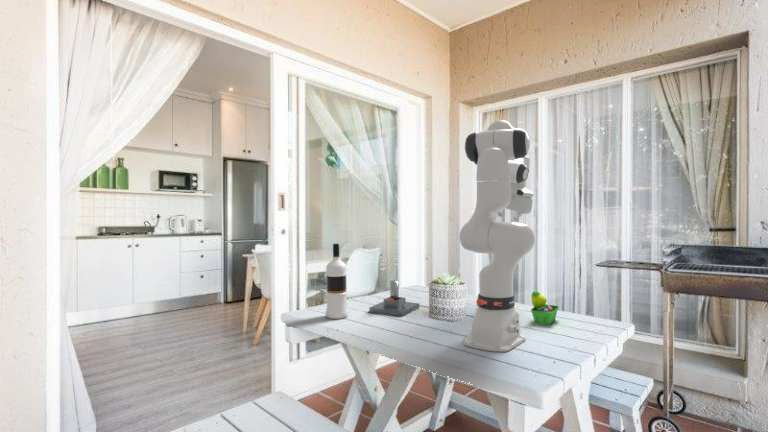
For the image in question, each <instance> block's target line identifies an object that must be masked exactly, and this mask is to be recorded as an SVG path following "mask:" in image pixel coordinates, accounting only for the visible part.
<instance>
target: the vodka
mask: <svg viewBox="0 0 768 432" xmlns="http://www.w3.org/2000/svg"><path fill="white" fill-rule="evenodd" d="M347 267H348V266H347V264H346V263H345V262H343V261H342V260H341V259H340V244H339V243H333V244H332V260H331V261H329V262H328V263H327V264H326V268H325V270H326V273H325V274H326V310H325V316H326V317H327V318H328V319H329V320H342V319H345V318H347V317H349V312H350V311H349V308H348V295H347V294H348V291H347V275H348V274H347V269H348V268H347Z"/></svg>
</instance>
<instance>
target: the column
mask: <svg viewBox="0 0 768 432" xmlns="http://www.w3.org/2000/svg"><path fill="white" fill-rule="evenodd" d="M389 282H390V283H389V286H390V289H389V291H390V292H389V293H390V295H389V297H390V298H394V300H399V297H400V295H399V294H400V292H399V289H400V287H399V280H396V279H393V280H390V281H389Z"/></svg>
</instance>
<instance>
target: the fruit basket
mask: <svg viewBox="0 0 768 432" xmlns="http://www.w3.org/2000/svg"><path fill="white" fill-rule="evenodd" d="M530 296H531V303H532V306H533V307H532V308H531V309H530V311H531V314H532V317H533V321H534V323H535V324H541V325H542V324H543V325H548V326H549V325H550V324H551V323H552V322H554V321H555V320H556V317H557V313H558V310H559V308H560V307H559V306H558V305H551V304H547V301H548V299H547V297H546V296H544V295H543V294H542V293H541V292H539V291H537V290H534V291H532V293H531V295H530Z"/></svg>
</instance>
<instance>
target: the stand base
mask: <svg viewBox="0 0 768 432" xmlns="http://www.w3.org/2000/svg"><path fill="white" fill-rule="evenodd" d="M406 300H407V299H406V297H402V296H399V300H394V298H390V296H389V297H386V298H384V299H383V301H381V302H378V303H377V304H375V305H372V306H369V307H368V308H369V309H368V311H369V313H373V314H379V315H387V316H394V317H395V316H396V317H405V316H406V315H408V314H411V313H412V311H413V312H415V311H416V310H418V309H420V303H419V302H410V301H409V302H408V301H406ZM410 312H411V313H410Z"/></svg>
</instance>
